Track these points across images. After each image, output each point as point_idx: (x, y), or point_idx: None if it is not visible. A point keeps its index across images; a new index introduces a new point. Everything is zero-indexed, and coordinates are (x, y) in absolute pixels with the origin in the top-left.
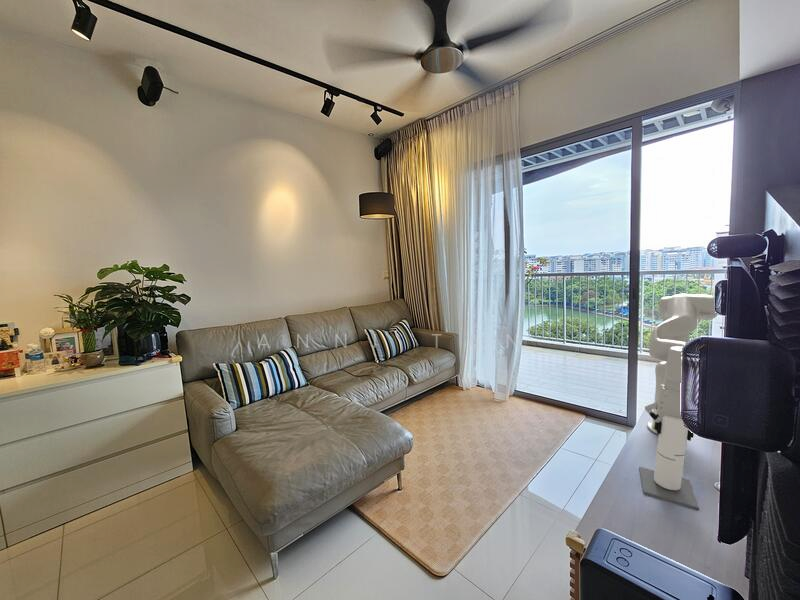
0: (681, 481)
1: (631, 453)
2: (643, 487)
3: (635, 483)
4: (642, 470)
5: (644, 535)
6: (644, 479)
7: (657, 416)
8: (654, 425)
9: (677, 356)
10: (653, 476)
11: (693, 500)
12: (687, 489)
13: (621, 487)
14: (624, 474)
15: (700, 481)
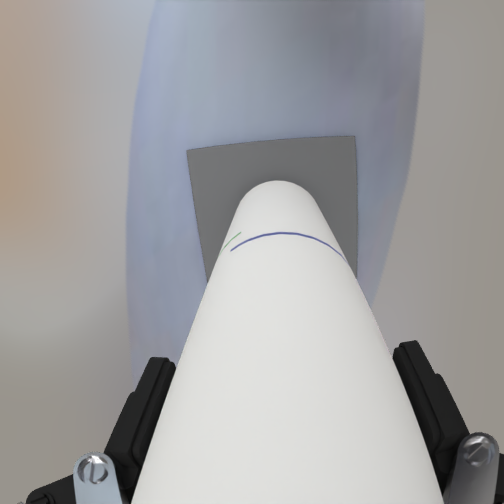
0: (329, 163)
1: (158, 55)
2: (208, 278)
3: (186, 255)
4: (198, 171)
5: None
6: (208, 230)
7: (103, 499)
8: (125, 407)
9: None
10: (235, 190)
11: (348, 261)
12: (341, 207)
13: (156, 298)
14: (150, 223)
15: (388, 111)
